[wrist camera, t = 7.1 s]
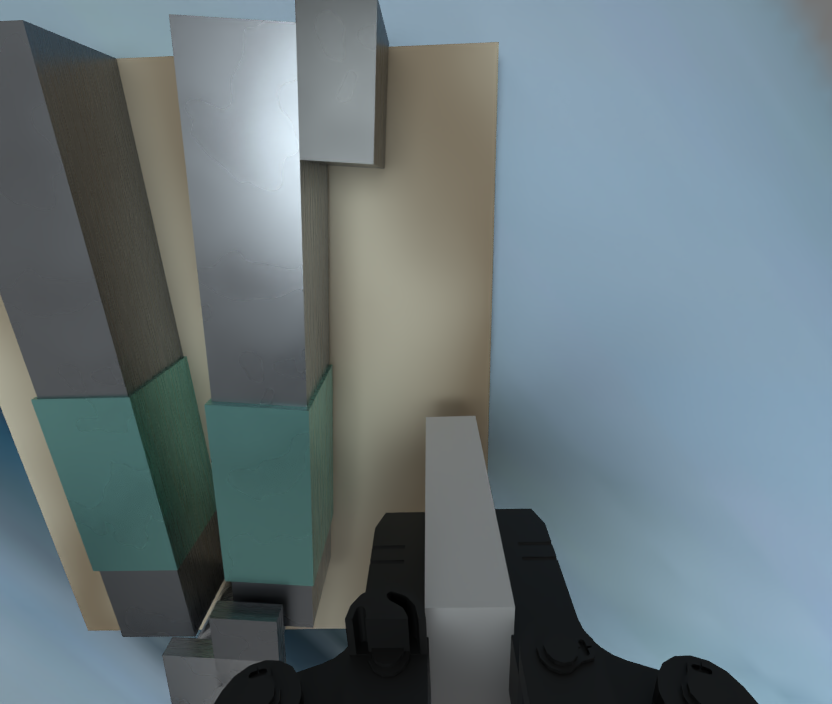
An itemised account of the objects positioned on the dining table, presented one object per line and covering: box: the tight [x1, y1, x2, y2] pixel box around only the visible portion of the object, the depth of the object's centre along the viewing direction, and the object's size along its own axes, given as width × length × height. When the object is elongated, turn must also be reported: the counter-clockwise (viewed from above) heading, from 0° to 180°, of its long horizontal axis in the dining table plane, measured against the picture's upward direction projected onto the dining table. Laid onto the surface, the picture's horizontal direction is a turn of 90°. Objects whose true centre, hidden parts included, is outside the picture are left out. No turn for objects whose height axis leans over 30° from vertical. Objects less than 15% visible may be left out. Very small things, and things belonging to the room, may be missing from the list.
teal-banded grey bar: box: [0, 20, 286, 639], centre depth 14 cm, size 7×20×3 cm, turn 2°
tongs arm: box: [162, 0, 389, 704], centre depth 13 cm, size 6×21×4 cm, turn 176°
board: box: [0, 42, 499, 631], centre depth 16 cm, size 17×21×1 cm
